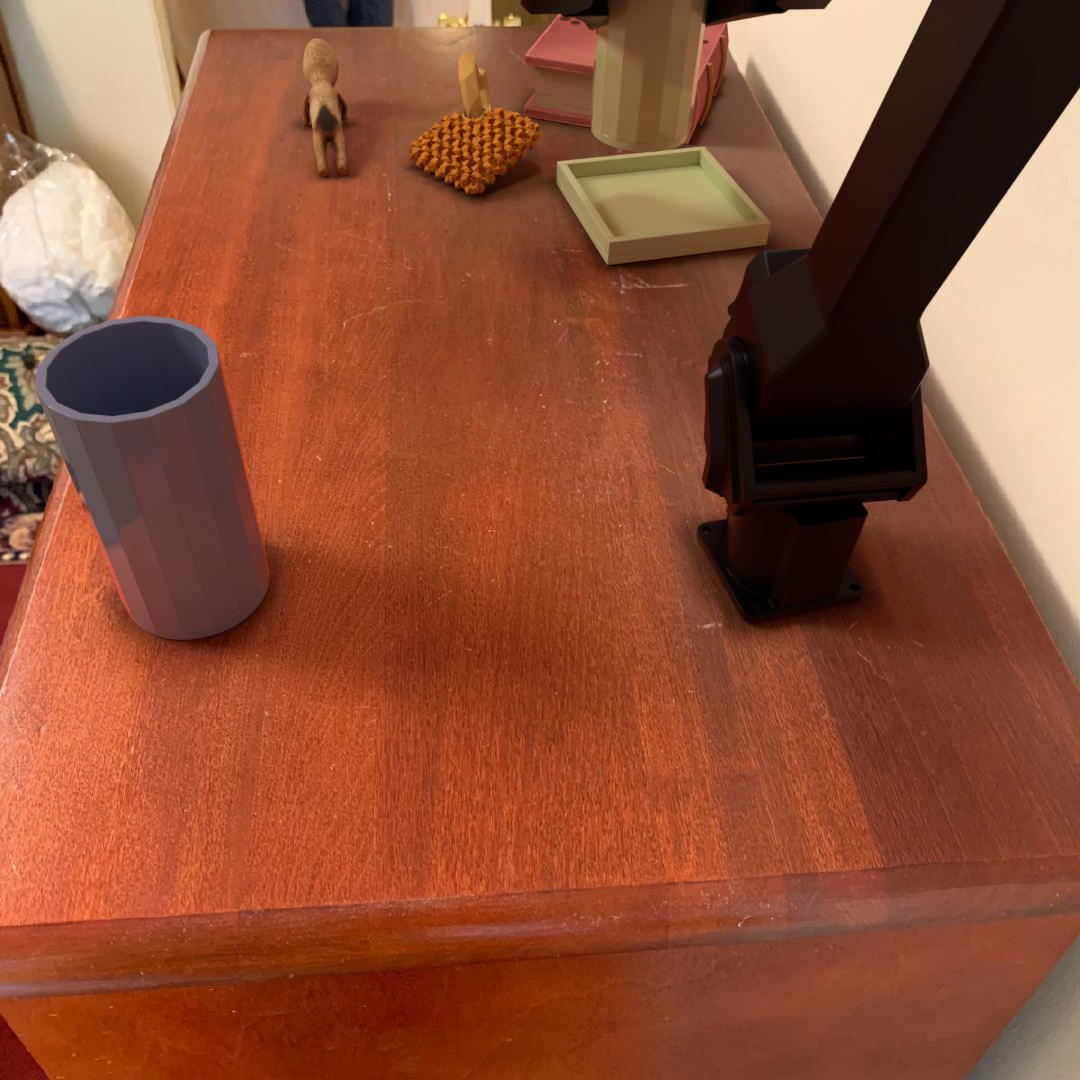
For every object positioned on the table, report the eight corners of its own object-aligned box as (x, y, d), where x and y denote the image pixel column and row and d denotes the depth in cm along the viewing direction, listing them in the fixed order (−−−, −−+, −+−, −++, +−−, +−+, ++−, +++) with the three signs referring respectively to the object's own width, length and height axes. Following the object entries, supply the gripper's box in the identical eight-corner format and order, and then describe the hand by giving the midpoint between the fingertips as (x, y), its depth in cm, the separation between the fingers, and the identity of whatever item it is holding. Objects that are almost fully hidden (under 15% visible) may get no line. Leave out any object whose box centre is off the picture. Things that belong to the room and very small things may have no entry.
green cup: (648, 162, 66) (672, -61, 57) (570, 129, 69) (581, -87, 60) (708, 130, 70) (741, -84, 60) (632, 101, 73) (651, -108, 63)
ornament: (534, 140, 72) (530, 16, 79) (392, 164, 73) (402, 40, 81) (550, 214, 77) (546, 92, 85) (418, 235, 79) (426, 113, 87)
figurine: (359, 196, 80) (342, 78, 87) (354, 148, 76) (337, 28, 83) (311, 200, 79) (299, 80, 86) (304, 151, 75) (291, 30, 83)
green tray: (766, 245, 73) (771, 222, 71) (607, 265, 70) (609, 242, 69) (701, 167, 81) (704, 146, 79) (555, 183, 78) (557, 161, 77)
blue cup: (277, 623, 47) (224, 405, 38) (125, 653, 46) (31, 434, 36) (262, 523, 52) (212, 306, 42) (123, 547, 50) (39, 328, 41)
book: (698, 145, 83) (707, 84, 80) (523, 115, 86) (524, 55, 83) (727, 80, 93) (737, 22, 89) (568, 55, 96) (572, -2, 92)
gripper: (885, -295, 51) (773, -105, 67) (521, -304, 49) (492, -104, 64) (901, -73, 51) (786, 65, 67) (541, -71, 49) (507, 72, 64)
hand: (645, 21), depth 66 cm, fingers closed on green cup, 7 cm apart
